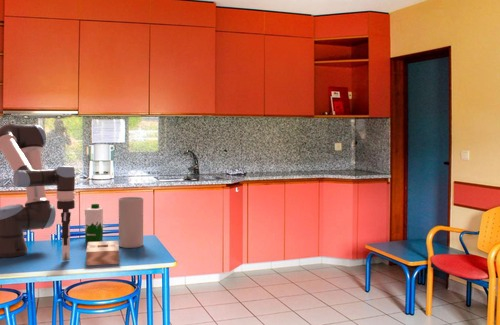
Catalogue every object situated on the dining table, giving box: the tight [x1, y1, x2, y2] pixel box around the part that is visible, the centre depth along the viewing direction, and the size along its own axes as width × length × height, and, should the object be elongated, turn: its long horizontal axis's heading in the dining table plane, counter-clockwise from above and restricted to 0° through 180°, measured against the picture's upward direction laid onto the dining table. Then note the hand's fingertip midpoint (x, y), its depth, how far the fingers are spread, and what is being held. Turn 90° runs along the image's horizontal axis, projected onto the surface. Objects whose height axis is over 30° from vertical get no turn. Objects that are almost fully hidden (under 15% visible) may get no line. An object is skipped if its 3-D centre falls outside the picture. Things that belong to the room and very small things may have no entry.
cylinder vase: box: [118, 196, 144, 249], centre depth 263 cm, size 12×12×25 cm
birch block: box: [85, 240, 120, 266], centre depth 235 cm, size 14×22×6 cm, turn 16°
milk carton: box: [84, 203, 104, 243], centre depth 273 cm, size 9×9×20 cm
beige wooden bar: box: [61, 225, 71, 262], centre depth 228 cm, size 3×3×16 cm
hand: (65, 251), depth 228 cm, fingers closed on beige wooden bar, 3 cm apart
